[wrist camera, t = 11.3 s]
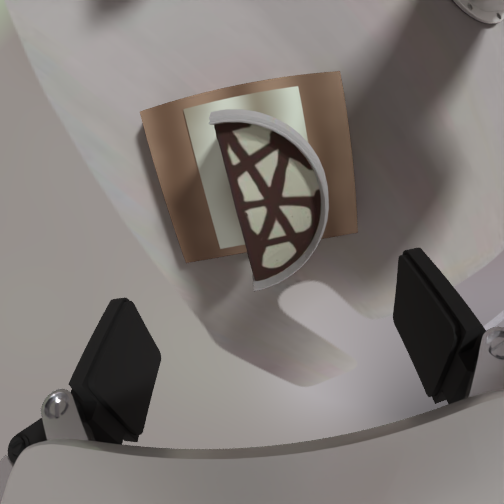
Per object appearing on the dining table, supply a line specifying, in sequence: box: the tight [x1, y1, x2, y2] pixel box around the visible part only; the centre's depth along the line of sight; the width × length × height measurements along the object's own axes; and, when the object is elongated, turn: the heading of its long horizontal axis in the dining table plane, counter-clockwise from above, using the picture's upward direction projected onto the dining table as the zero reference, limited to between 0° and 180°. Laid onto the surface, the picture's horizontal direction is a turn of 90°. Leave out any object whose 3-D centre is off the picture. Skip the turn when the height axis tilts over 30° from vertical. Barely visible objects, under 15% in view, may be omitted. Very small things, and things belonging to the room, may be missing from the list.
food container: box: [209, 109, 329, 291], centre depth 22 cm, size 12×6×10 cm, turn 13°
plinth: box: [140, 71, 358, 263], centre depth 28 cm, size 18×16×3 cm
